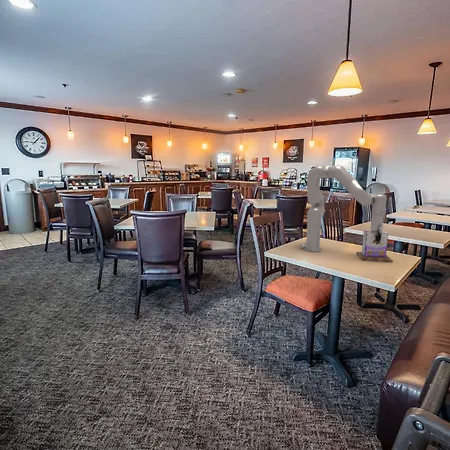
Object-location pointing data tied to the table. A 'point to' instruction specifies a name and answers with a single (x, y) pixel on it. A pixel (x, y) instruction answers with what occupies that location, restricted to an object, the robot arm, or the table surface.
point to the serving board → (374, 258)
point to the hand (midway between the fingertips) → (375, 239)
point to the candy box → (374, 244)
